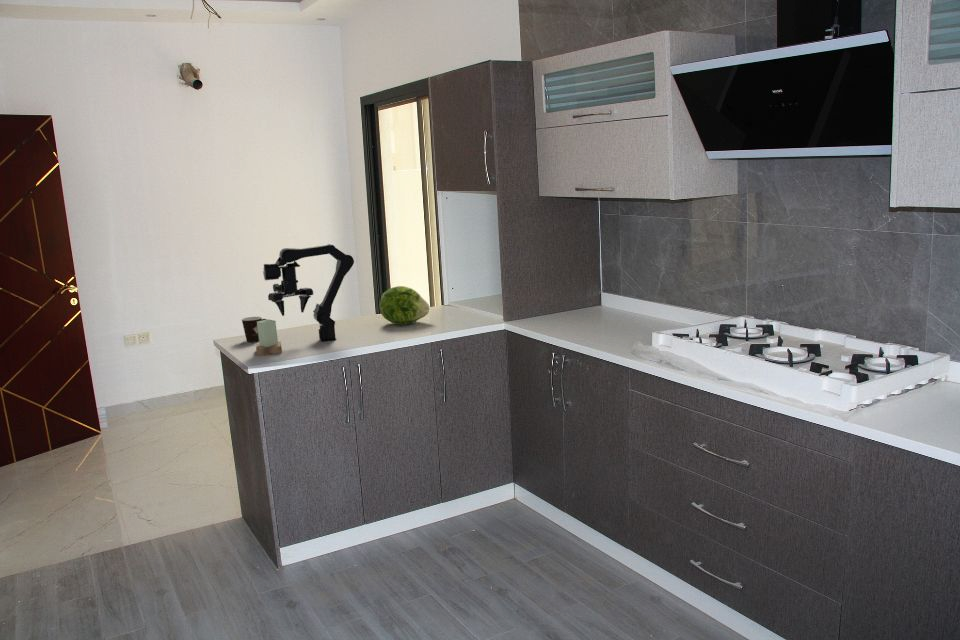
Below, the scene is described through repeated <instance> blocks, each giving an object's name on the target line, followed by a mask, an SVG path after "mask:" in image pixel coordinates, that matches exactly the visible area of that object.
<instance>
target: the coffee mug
mask: <svg viewBox="0 0 960 640" xmlns="http://www.w3.org/2000/svg"><path fill="white" fill-rule="evenodd" d="M263 320H268V318H267V319H266V318H263V317H262V316H249V317H243V318H242V319H241V323H242V328H243V332H244V335H245V338H246V339H245V340H246V343H257V342H259V335H258V327H257V322H258V321H263Z"/></svg>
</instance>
